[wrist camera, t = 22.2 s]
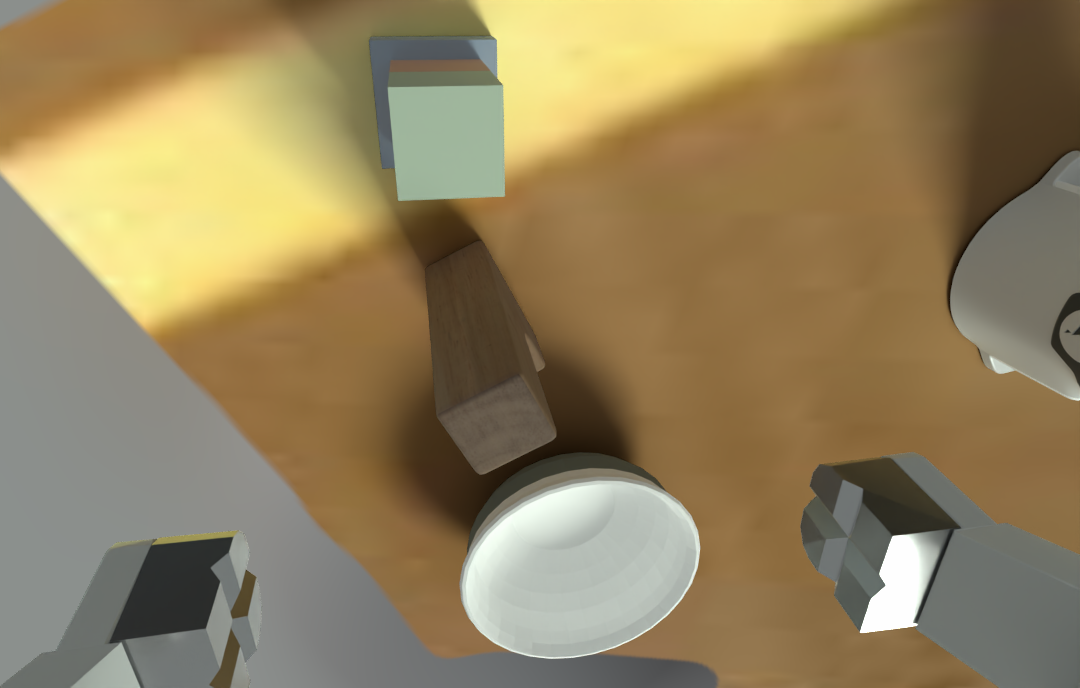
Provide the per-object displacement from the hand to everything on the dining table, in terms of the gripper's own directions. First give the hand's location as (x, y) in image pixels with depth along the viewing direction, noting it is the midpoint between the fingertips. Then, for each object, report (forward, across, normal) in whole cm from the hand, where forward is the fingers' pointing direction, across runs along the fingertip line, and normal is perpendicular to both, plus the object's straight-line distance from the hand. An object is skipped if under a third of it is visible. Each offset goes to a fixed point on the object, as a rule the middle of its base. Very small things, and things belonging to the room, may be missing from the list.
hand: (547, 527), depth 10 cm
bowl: (+37, -9, +33) cm, 51 cm away
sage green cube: (+30, 0, 0) cm, 30 cm away
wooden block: (+37, -2, +14) cm, 40 cm away
